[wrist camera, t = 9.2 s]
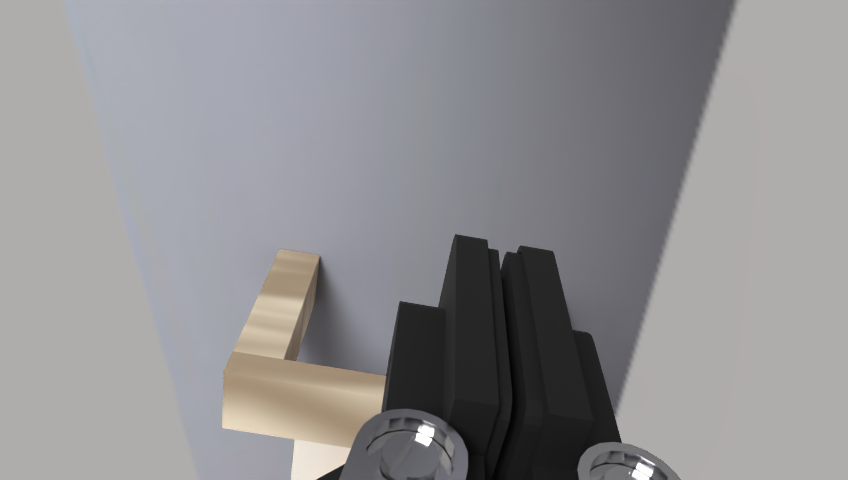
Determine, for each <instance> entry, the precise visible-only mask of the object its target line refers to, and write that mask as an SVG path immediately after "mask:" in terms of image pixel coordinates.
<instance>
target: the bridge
mask: <svg viewBox="0 0 848 480" xmlns="http://www.w3.org/2000/svg"><path fill="white" fill-rule="evenodd" d="M319 258H320V256H319V255H313V254H307V253H301V252H295V251H290V250H284V249H280V250H279V252H278V254H277V256H276V259H275V261H274V263H273V265H272V267H271V270H270V272H269V274H268V276H267V278H266V280H265V283H264V285H263V287H262V289H261V291H260V294H259V296H258V298H257V300H256V302H255V304H254V307H253V309H252V311H251V313H250V315H249V318H248V320H247V322H246V324H245V326H244V328H243V331H242V333H241V335H240V337H239V339H238V342H237V344H236V346H235V348H234V350H233V352H232V355H231V357H230V359H229V361H228V363H227V366H226V368H225V370H224V384H223V419H222V428H226V429H232V430H239V431H245V432H251V433H258V434H264V435H270V436H277V437H283V438H290V439H296V440H302V441H309V442H315V443H321V444H328V445H334V446H341V447H347V448H351V447H352V445H353V442H354V440H355V437H356V435H357V433H358V432H359V430H360V429H361V427H362V425H363V424H364V423H365V422H367V421H368V420H369V419H371V418H372V417H373V416H375V415H377V414H380V413H381V409H382V402H383V394H384V388H385V381H386V376H383V375H377V374H371V373H364V372H358V371H352V370H346V369H340V368H334V367H327V366H321V365H315V364H309V363H303V362H297V361H296V360H297V356H298V353H299V350H300V347H301V344H302V341H303V338H304V335H305V332H306V329H307V326H308V323H309V320H310V316H311V313H312V310H313V307H314V304H315V295H316V286H317V277H318V268H319Z"/></svg>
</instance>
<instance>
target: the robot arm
mask: <svg viewBox="0 0 848 480" xmlns="http://www.w3.org/2000/svg"><path fill="white" fill-rule="evenodd" d="M316 480H680V478H679V477H678V475H677V474H676V473H675V472H674V471H673V470H672V469H671V468H670V467H669V466H668V465H667V464H666V463H664V462H663V461H662V460H661V459H659V458H657V457H656V456H654V455H653V454H651V453H649V452H648V451H646V450H643V449H641V448H638V447H636V446H633V445H630V444H623V443H622V442H621V438H620V434H619V431H618V427H617V424H616V420H615V416H614V413H613V409H612V405H611V402H610V398H609V395H608V391H607V387H606V384H605V380H604V376H603V373H602V369H601V366H600V362H599V358H598V355H597V351H596V347H595V344H594V341H593V338H592V336H591V335H590V334H589V333H587V332H581V331H575V330H572V327H571V323H570V319H569V315H568V310H567V306H566V302H565V298H564V293H563V289H562V285H561V281H560V277H559V272H558V268H557V264H556V260H555V256H554V253H553V251H549V250H544V249H538V248H532V247H526V246H520V247H519V248H518V251H517V253H512V252H507V253H506V254H505V257H504V260H503V264H502V267H501V271H500V262H499V252H498V250H494V249H489V248H488V242H487V240H486V239H480V238H474V237H468V236H462V235H456V234H455V236H454V239H453V243H452V247H451V252H450V256H449V261H448V265H447V270H446V274H445V279H444V283H443V288H442V292H441V297H440V301H439V306H438V308H437V307H431V306H425V305H419V304H413V303H408V302H402V301H400V303H399V307H398V312H397V317H396V323H395V328H394V334H393V339H392V345H391V350H390V356H389V362H388V368H387V374H386V381H385V388H384V394H383V402H382V409H381V413H380V414H377V415H375V416H373V417H372V418H371V419H369V420H368V421H367V422H365V423H364V424H363V425H362V427H361V429H360V430H359V432H358V433H357V435H356V437H355V440H354V442H353V445H352V447H351V450H350V452H349V455H348V458H347V460H346V463H345V464H343V465H342V466H340V467H338V468H336V469H334V470H332V471H331V472H329V473H327V474H325V475H323V476H322V477H320V478H318V479H316Z"/></svg>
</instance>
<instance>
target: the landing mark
mask: <svg viewBox="0 0 848 480" xmlns="http://www.w3.org/2000/svg"><path fill="white" fill-rule="evenodd" d="M350 450H351V448H347V447H341V446H334V445H328V444H321V443H315V442H309V441H302V440H296V439H295V445H294V454H293V464H292V473H291V480H316V479H318V478H320V477H322V476H323V475H325V474H327V473H329V472H331V471H332V470H334V469H336V468H338V467H340V466H342V465H343V464H345V463H346V460H347V458H348V455H349V452H350Z"/></svg>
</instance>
